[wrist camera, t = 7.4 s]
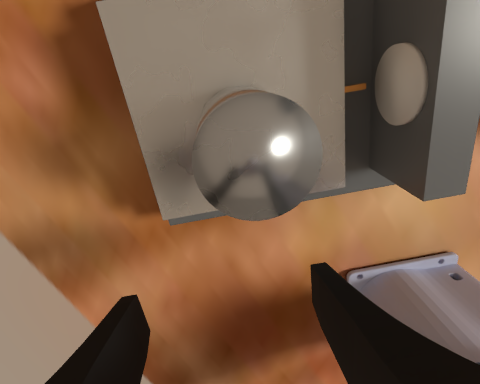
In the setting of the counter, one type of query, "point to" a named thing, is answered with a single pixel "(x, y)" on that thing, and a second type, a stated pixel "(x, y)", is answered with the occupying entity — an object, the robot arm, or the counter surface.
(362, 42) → the scale
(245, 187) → the steel weight
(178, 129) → the scale pan
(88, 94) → the counter surface
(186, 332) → the counter surface
